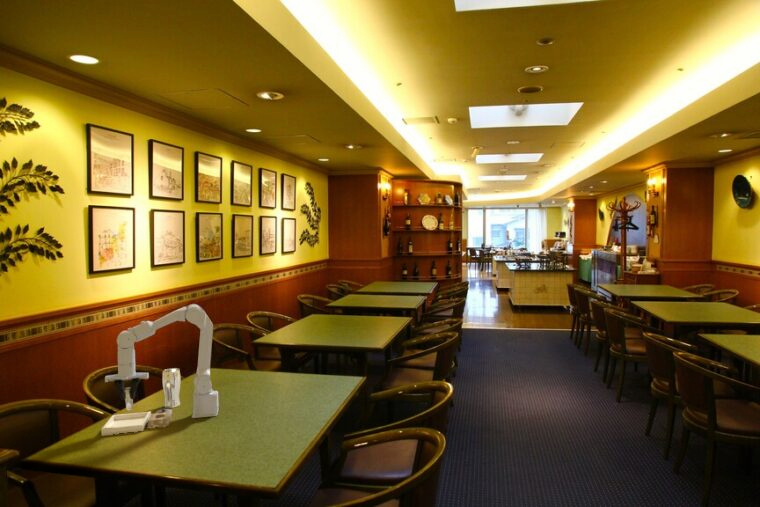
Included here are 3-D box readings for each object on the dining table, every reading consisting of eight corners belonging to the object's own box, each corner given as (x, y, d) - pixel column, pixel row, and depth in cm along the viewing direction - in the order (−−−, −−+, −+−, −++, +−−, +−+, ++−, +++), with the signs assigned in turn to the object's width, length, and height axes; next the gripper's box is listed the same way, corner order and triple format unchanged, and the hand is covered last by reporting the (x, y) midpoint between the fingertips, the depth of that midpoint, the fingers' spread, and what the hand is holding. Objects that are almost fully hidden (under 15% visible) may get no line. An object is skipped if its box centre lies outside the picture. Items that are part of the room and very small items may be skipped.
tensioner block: (174, 412, 191) (174, 405, 191) (168, 426, 177) (167, 418, 177) (156, 414, 189) (155, 407, 189) (147, 428, 176) (147, 420, 175)
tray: (151, 417, 186) (151, 411, 186) (142, 431, 173) (142, 424, 173) (113, 421, 183) (112, 415, 183) (101, 435, 170) (101, 429, 170)
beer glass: (159, 407, 198) (158, 371, 197) (172, 401, 204) (171, 367, 203) (172, 409, 195) (171, 373, 194) (185, 403, 201) (183, 368, 201)
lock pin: (135, 406, 180) (133, 386, 179) (133, 409, 177) (130, 389, 176) (126, 408, 179) (123, 387, 179) (124, 411, 176) (121, 390, 175)
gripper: (101, 367, 171) (103, 404, 172) (145, 364, 175) (146, 400, 175) (107, 362, 178) (109, 397, 179) (149, 359, 182) (150, 394, 182)
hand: (127, 398), depth 178 cm, fingers closed on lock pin, 3 cm apart
